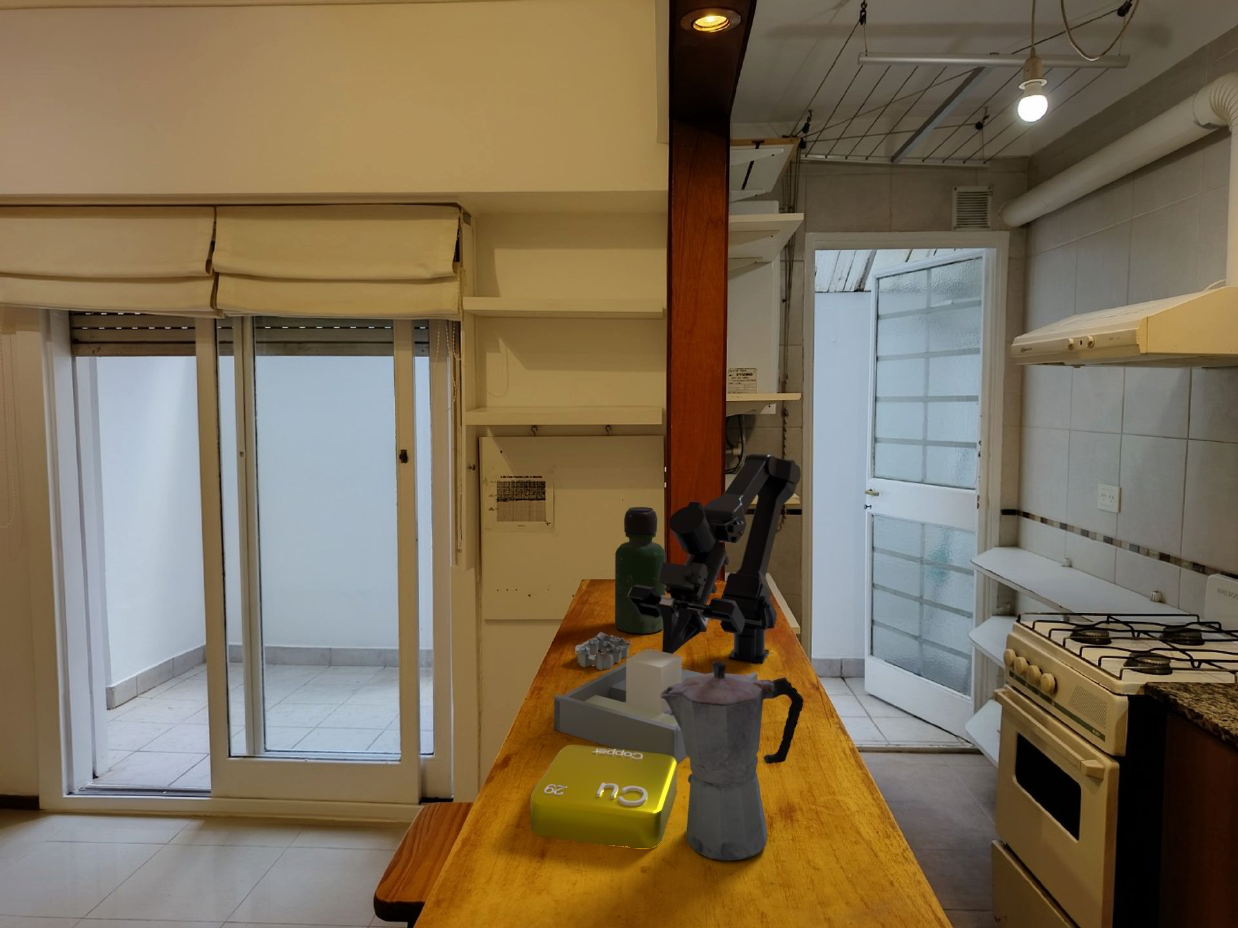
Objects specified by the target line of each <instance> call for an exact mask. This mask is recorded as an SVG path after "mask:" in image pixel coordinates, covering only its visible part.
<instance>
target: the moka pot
mask: <svg viewBox="0 0 1238 928" xmlns="http://www.w3.org/2000/svg"><path fill="white" fill-rule="evenodd" d="M726 668H727V663H726V662H722V661H714V662H712V663H711V669H712V671H713V672H710V673H703V675H698V676H693V677H688V678H685V680H684V681H683V682H682V683H679V684H676V685H672V686H669V687H668V688H667V689H666V690H664V691H663V692H662V693H661V695H660V697H661V698H663V699H665V700H666V702H667V703H668V705H669V707H670V709H671V711H672V713H673V715H674V717H675V719H676V721H677V723H678V725H679V727H680V728H681V731H682V734H683V740H684V745H685V751H686V754H687V757H688V758H689V767H690V768H689V769H690V771H691V774H689V775H688V777H687V783H689V795H688V796H689V797H688V809H687V818H686V820H687V822H686V833H685V834H686V836H685V839H686V841H687V843H688V844H689V846H690V847H691V849H692V850H694V851H695V852H696V853H698V854H699V855H701V856H703V855H704V856H703V857H705V858H706V857H707V858H709V859H713V860H718V861H724V862H725V861H726V862H729V861H735V860H739V861H740V860H744V859H745V860H747V859H749V858H752V857H753V856H755V855H757V854H759V853H760V852H761V851H762V850H763V849H764V848H765V847H766V845H767V840H768V835H769V833H768V827H767V822H766V816H765V812H764V811H765V810H764V806H763V801H762V796H761V788H760V782H759V777H758V772H757V765H758V761H759V757H758V756H757V755H758V752H759V750H760V742H761V741H760V740H761V728H762V716H763V706H764V700H767V699H769V700H772V699H776V698H778V697H780V696H787V697H788V698H789V699H790V701H791V704H790V706H789V707H788V712H787V717H786V720H785V725H784V726H783V727H784V728H783V732H782V733H783V734H782V736H781V737H782V740H781V741H780V744H779V746H778V747H779V748H778V749H777V751H776V752H775V753H772V754H765V756H762V758H763V760H764V761H765V764H767V765H768V764H769V765H771V764H773V763H774V764H778V763H779V764H780V763H784V762H785V761H786V759H787V757H788V754H789V751H790V749H791V745H792V740H793V739H794V734H795V732H796V731H795V730H796V728H797V725H798V721H799V717H800V716H801V715H800V714H801V712H802V711H803V708H804V698H803V696H802V695H801V694H800V693H799V692H798V690H797V688H795V687H793V686H792V683H791V681H788V679H787V678H786V677H781V678H776V679H773V680H771V679H759V680H758V679H757V681H755V680H753V679H751V678H749V677H747V676H748V675H747V674H737V673H736V674H734V673H726Z"/></svg>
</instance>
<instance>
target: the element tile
mask: <svg viewBox="0 0 1238 928" xmlns="http://www.w3.org/2000/svg"><path fill="white" fill-rule="evenodd" d="M677 782H678V764H677V761H676V759H675V758H674V757H672V756H670V755H665V754H658V753H649V752H640V751H631V750H622V749H615V748H611V747H602V746H593V745H583V744H568V745H566V746H564V747H563V748H561V749H560V750H559V751H558V753H557V754H556V756H555V757H554V759H553V761H552V762H551V763H550V765H549V767H547V769H546V771H545V772H544V774H543V776H542V777H541V778H540V779H539V781H538V783H537V784H536V785H535V787H534V789H533V790H532V792H531V793H530V831H531V832H532V833H533V834H534V835H537V836H540V837H543V838H550V839H559V840H563V841H565V840H566V841H573V842H580V843H585V844H586V843H587V844H593V843H596V844H595V845H600V844H604V845H603V846H607V845H615V846H624V847H625V846H628V847H630V848H652V847H654V846H657V845H658V844H659V843H660V842H661V841H662V842H663V839H662V838H664V836H665V831H666V829H667V826H666V825H668V823H667V822H669V820H670V819H669V818H670V815H671V813H672V810H671V809H673V806H674V803H675V799H676V796H677V793H678V783H677ZM670 812H671V813H670ZM665 828H666V829H665ZM663 835H664V836H663ZM662 842H661V843H662ZM661 843H660V844H661ZM658 846H659V845H658ZM658 846H657V847H658Z"/></svg>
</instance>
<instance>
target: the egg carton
mask: <svg viewBox="0 0 1238 928" xmlns="http://www.w3.org/2000/svg"><path fill="white" fill-rule="evenodd" d="M631 644H632V640H628V641H626V640H625V639H624V637H618V636H615V635H612V634H610V635H608V634H606V633H604V632H602V631H600V632H599V633H598V634H596V635H595V636H594V637H592V638H588V640H587V641H585V642H582V644H577V645H576V646H575V649H574V650H575V651H574V653H575V654H577V664H578V663H580V664H579V665H580V667H581V666H582V668H587V667H590V666H589V665H594V666H593V667H595V666H596V670H598V669H600V671H604V670H610V669H611V670H612V667H613V668H614V664H620V663H621V662H620V661H622V658H624V659H625V658H626V659H628V658H629V657H630V655H629V649H630V647H631V646H632V645H631ZM598 650H602V651H601V652H599V651H598ZM594 655H596V656H594ZM628 656H629V657H628ZM586 666H587V667H586ZM603 669H604V670H603Z"/></svg>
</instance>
